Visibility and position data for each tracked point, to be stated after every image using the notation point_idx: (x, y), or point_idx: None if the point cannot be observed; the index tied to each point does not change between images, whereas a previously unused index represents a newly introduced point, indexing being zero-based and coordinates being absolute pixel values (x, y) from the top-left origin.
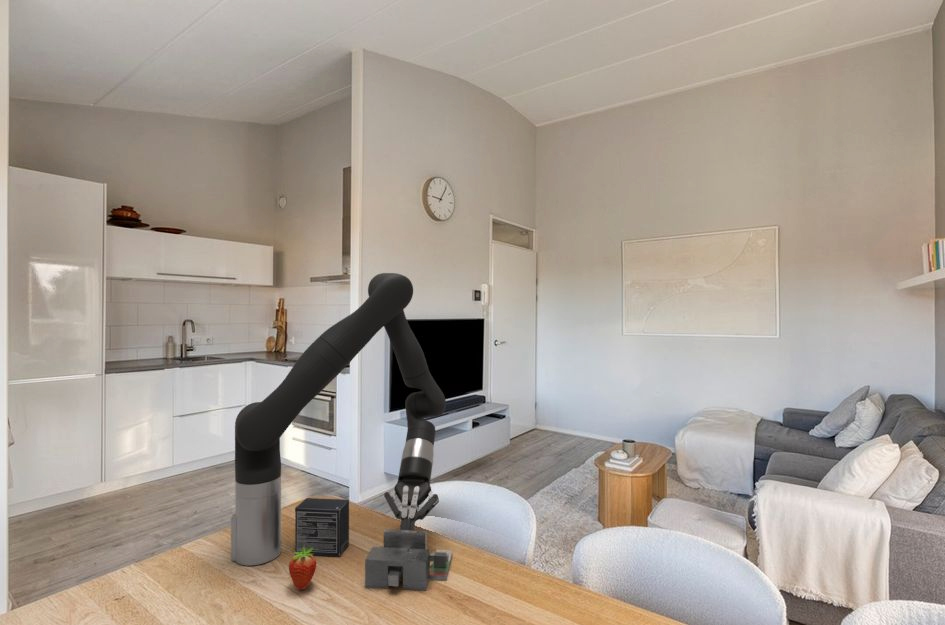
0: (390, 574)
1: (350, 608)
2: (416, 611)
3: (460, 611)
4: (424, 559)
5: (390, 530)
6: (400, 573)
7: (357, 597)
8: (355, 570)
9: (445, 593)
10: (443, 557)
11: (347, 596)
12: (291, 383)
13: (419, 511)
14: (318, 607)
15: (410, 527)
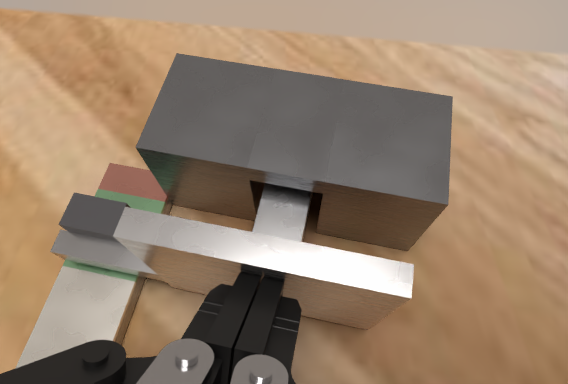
0: None
1: (434, 74)
2: (239, 46)
3: (117, 36)
4: (178, 73)
5: (365, 274)
6: None
7: None
8: (488, 283)
9: (139, 108)
10: (85, 197)
11: (462, 125)
12: None
13: (95, 370)
14: (535, 86)
15: (218, 312)
